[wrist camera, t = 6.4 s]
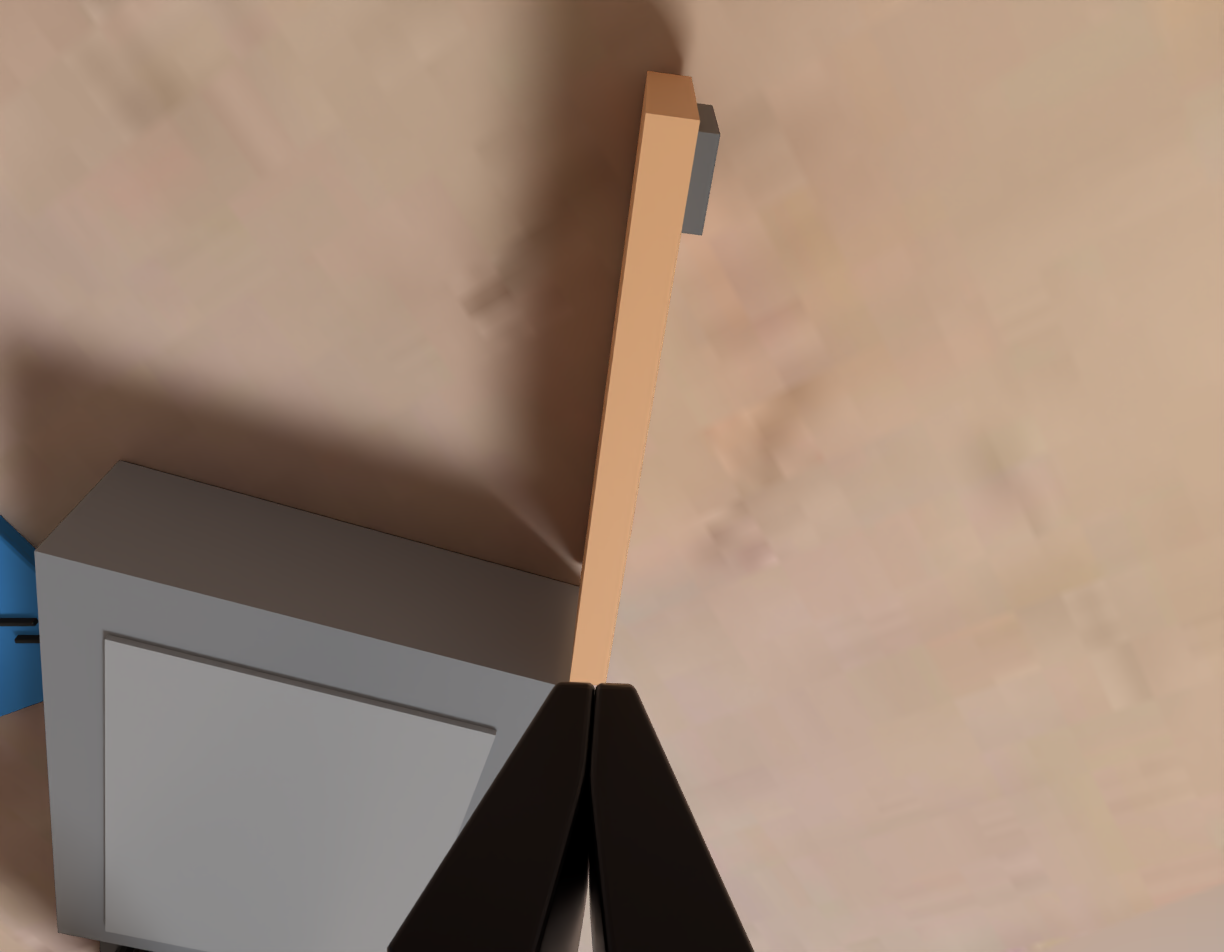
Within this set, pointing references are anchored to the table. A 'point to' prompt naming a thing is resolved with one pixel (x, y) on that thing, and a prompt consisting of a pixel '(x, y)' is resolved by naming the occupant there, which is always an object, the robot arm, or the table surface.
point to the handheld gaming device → (18, 623)
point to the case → (270, 714)
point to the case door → (640, 342)
